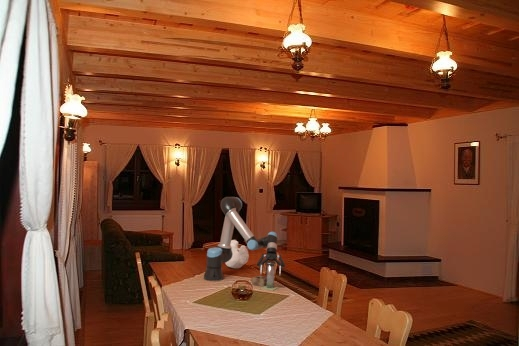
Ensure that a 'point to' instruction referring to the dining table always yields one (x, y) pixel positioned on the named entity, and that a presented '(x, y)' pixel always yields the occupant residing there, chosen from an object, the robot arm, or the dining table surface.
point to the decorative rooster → (237, 255)
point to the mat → (270, 288)
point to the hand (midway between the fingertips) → (270, 274)
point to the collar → (259, 281)
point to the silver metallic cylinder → (270, 274)
